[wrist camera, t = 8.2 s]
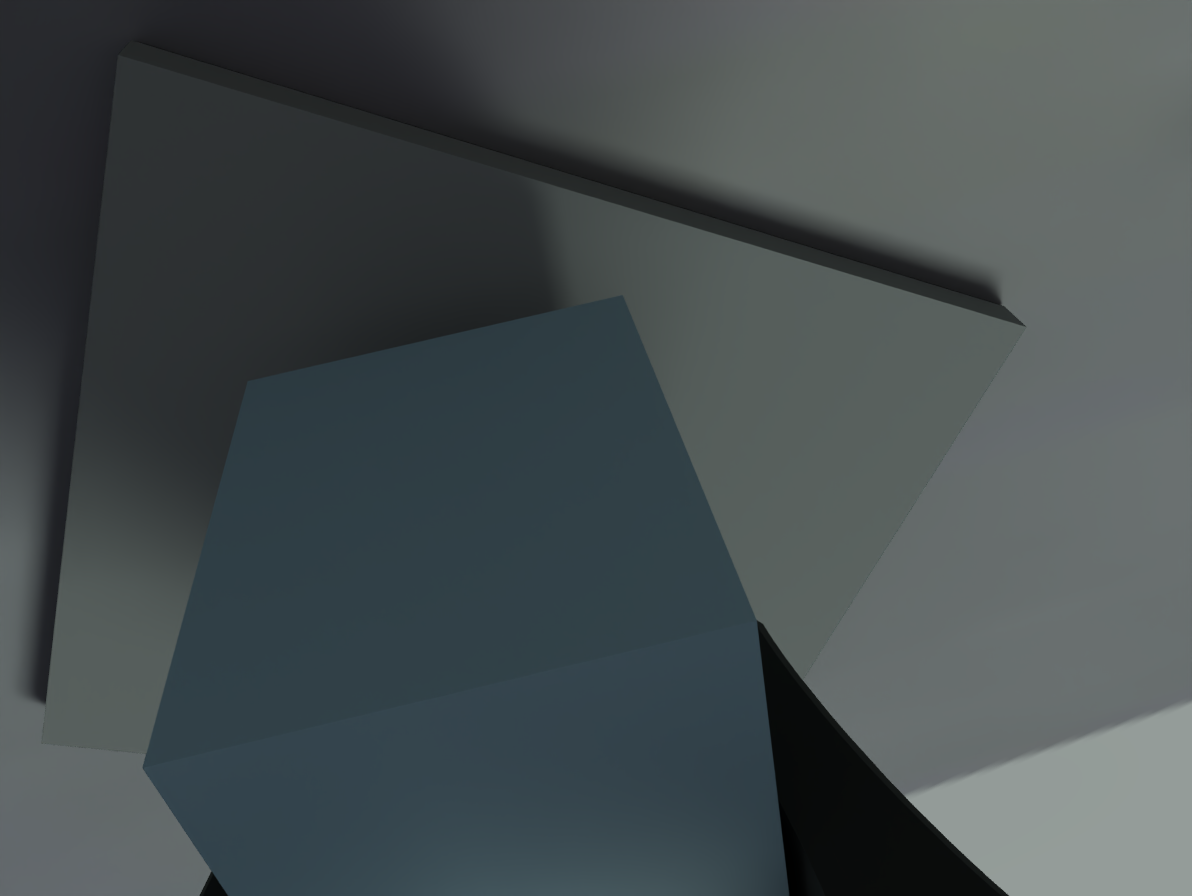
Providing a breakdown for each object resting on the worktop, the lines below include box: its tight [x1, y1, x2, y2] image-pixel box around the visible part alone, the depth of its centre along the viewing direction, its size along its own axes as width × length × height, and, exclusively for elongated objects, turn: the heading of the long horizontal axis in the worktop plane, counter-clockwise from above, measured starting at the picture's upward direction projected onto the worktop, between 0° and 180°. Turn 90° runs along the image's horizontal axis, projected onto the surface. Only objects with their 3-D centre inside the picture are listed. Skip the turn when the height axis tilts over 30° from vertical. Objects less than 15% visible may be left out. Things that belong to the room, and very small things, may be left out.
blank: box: [143, 295, 789, 896], centre depth 11 cm, size 4×7×5 cm, turn 10°
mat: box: [41, 40, 1026, 754], centre depth 14 cm, size 11×10×1 cm
